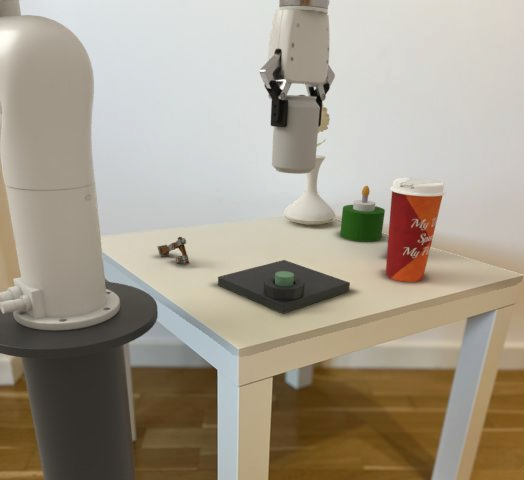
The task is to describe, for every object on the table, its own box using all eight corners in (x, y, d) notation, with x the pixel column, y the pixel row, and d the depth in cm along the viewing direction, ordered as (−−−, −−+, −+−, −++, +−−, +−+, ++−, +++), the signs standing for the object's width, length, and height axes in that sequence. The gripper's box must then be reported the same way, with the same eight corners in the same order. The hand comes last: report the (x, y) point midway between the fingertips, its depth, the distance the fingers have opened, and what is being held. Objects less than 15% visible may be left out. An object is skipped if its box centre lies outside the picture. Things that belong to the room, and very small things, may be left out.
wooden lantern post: (185, 263, 88) (178, 236, 88) (163, 271, 95) (156, 245, 94) (195, 261, 89) (188, 234, 89) (172, 269, 96) (166, 243, 95)
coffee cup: (414, 288, 84) (431, 188, 78) (369, 275, 89) (381, 180, 82) (439, 276, 90) (456, 182, 83) (395, 264, 95) (408, 174, 88)
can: (263, 170, 94) (266, 93, 88) (286, 166, 99) (290, 93, 94) (300, 175, 90) (306, 95, 85) (322, 171, 96) (329, 95, 90)
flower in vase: (345, 225, 118) (358, 99, 107) (301, 231, 113) (310, 98, 102) (311, 213, 128) (319, 96, 117) (269, 217, 123) (274, 95, 112)
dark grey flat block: (283, 313, 73) (284, 292, 72) (217, 285, 82) (217, 266, 81) (349, 291, 82) (351, 272, 81) (283, 267, 91) (284, 250, 90)
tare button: (284, 289, 74) (284, 278, 74) (270, 284, 76) (271, 273, 75) (297, 285, 76) (298, 274, 75) (284, 280, 78) (284, 269, 77)
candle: (377, 243, 106) (384, 191, 102) (336, 238, 109) (341, 187, 104) (384, 233, 113) (390, 184, 109) (344, 229, 116) (349, 180, 111)
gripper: (322, 10, 92) (313, 123, 99) (245, -4, 81) (242, 125, 88) (358, 7, 87) (346, 127, 94) (281, -8, 76) (274, 129, 84)
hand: (296, 125), depth 91 cm, fingers closed on can, 7 cm apart
